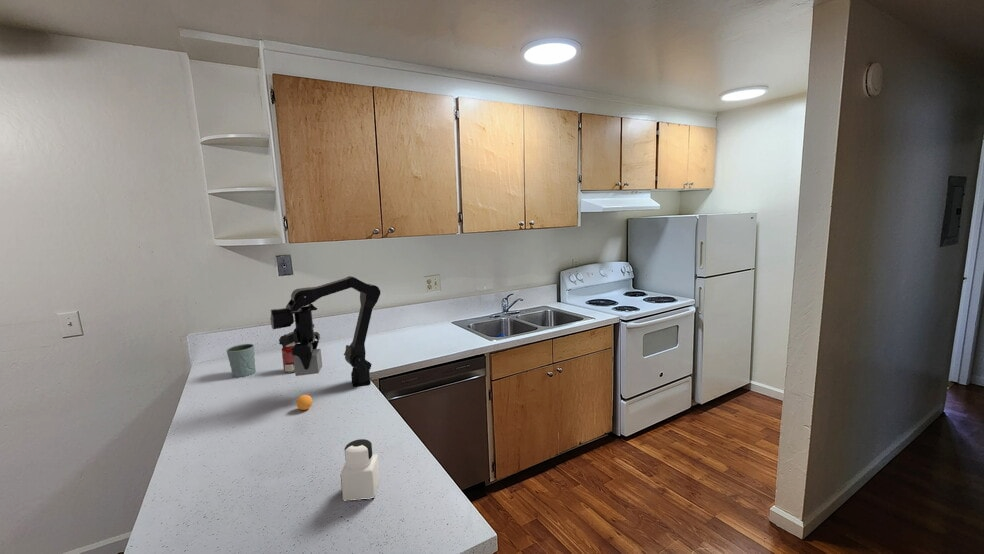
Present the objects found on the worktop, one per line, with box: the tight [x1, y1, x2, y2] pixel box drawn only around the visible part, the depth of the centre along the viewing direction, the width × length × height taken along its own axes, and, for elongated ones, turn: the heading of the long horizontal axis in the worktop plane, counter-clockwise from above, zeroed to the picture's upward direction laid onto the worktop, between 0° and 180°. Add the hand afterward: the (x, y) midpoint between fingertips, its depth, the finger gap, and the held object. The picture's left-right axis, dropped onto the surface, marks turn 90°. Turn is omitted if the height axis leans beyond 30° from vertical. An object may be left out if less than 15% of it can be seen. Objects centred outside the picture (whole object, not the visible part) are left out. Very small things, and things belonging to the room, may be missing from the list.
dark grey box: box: [293, 348, 323, 377], centre depth 153 cm, size 8×8×7 cm
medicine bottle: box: [340, 438, 381, 501], centre depth 98 cm, size 7×7×12 cm
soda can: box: [281, 342, 298, 374], centre depth 181 cm, size 7×7×12 cm
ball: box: [296, 394, 313, 411], centre depth 143 cm, size 5×5×5 cm
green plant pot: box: [226, 343, 257, 378], centre depth 179 cm, size 10×10×12 cm
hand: (308, 365), depth 153 cm, fingers closed on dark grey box, 8 cm apart
